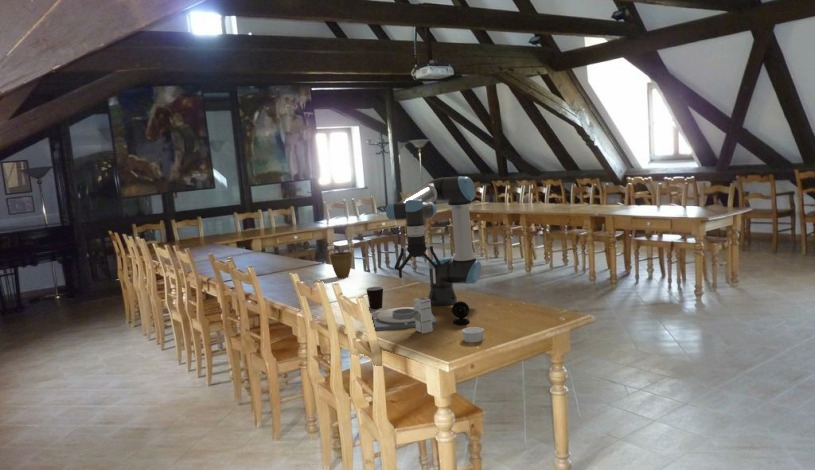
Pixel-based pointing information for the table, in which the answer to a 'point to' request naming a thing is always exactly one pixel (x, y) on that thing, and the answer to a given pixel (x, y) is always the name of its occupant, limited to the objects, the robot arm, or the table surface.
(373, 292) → the black cup
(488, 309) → the table surface
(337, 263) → the plant pot
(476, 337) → the ramekin
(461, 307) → the webcam
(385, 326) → the base
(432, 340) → the table surface
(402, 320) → the grey round plate
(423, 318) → the syrup box
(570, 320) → the table surface
